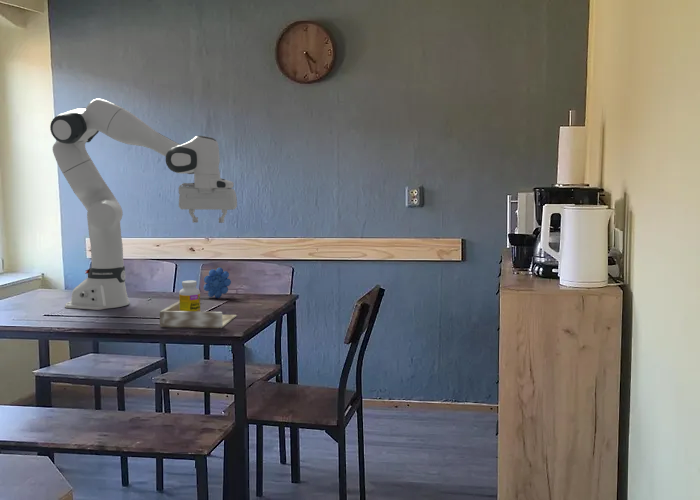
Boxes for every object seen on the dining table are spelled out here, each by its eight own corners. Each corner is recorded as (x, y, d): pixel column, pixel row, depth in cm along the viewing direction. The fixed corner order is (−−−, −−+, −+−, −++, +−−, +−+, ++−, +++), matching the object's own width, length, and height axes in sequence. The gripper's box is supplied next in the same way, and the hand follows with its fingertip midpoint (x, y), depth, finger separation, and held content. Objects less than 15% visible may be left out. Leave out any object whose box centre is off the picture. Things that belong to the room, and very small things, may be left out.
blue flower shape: (236, 296, 282) (235, 266, 280) (228, 300, 275) (227, 268, 274) (209, 295, 285) (208, 265, 284) (201, 298, 279) (200, 267, 277)
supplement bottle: (190, 323, 233) (189, 283, 231) (175, 320, 236) (174, 282, 235) (205, 319, 238) (203, 280, 237) (190, 317, 242) (189, 279, 240)
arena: (160, 327, 231) (159, 311, 230) (179, 315, 248) (179, 300, 248) (221, 328, 228) (220, 312, 228) (236, 316, 246) (236, 301, 245)
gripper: (175, 183, 250) (176, 223, 252) (233, 183, 248) (233, 223, 249) (181, 182, 256) (182, 221, 258) (237, 182, 254) (238, 221, 255)
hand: (208, 222), depth 253 cm, fingers open, 8 cm apart
